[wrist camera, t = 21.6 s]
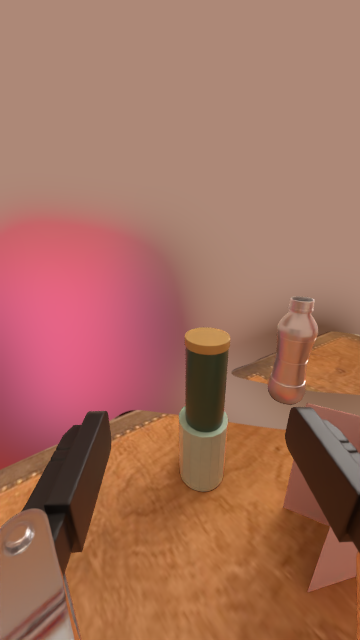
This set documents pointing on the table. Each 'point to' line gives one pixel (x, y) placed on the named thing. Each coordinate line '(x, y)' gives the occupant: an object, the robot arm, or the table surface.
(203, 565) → the table surface
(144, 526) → the table surface
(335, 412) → the greeting card
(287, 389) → the plastic bottle
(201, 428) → the tea tin
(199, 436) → the vase
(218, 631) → the table surface
